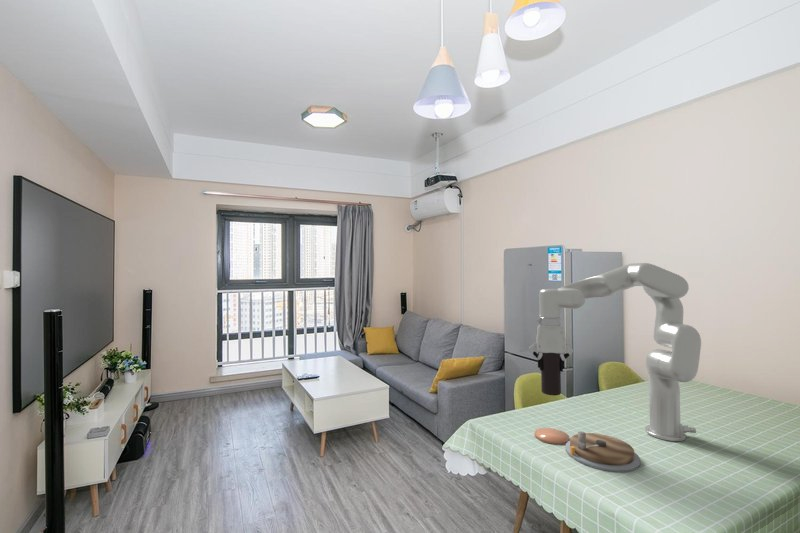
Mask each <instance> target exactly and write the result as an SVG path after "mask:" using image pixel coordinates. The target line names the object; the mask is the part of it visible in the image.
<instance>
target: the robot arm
mask: <svg viewBox="0 0 800 533" xmlns="http://www.w3.org/2000/svg"><path fill="white" fill-rule="evenodd" d="M633 287H642V288H643V290H644V292H645V293H646V294H647V295H648V296H649V297H650V298H651V300H653V302H654V304H655V320H654V328H653V339H654V341H655V342H656V344H658V345H660V346H662V347H666V348H669V349H672V351H670V350H666V349H661V348H660V349H659V348H658V349H653V350H651V351H649V352H648V354H647V355H646V357H645V358H646V359H645V368H646V372H647V375H648V376H647V377H648V385H649V386H648V387H649V390H648V391H649V392H648V393H649V424H648V425H646V426H645V427H644V430H645V432H646V434H648V435H649V436H651V437H654V438H656V439H659V440H664V441H668V442H669V441H671V442H682V441H685V440H686V439H687V435H686V434H687V433H690V434H696V433H697V429H696V427H692V426H691V427H690V426H689V425H688V424H687V425H685V424H684V425H683V424H682V423H681V392H680V391H681V390H680V388H681V387H680V385H679V382H680V383H689V382H691V381H693V380H694V379H695V378H696V377H697V374H698V370H699V364H700V358H701V357H700V356H701V349H702V337H701V335H700V333H699V331H698V330H697V329H696V328H694V326H692V325H688V324H685V323H684V307H683V303H682V301H681V298H684V297H685V296H686V295H687V294H688V291H689V289H690V288H689V283H688V281H687V280H686V279H685V278H684V277H683V276H681V275H679V274H677V273H675V272H672V271H669V270H667V269H665V268H663V267H661V266H658V265H656V264H652V263H647V262H640V263H639V262H638V263H635V262H634V263H628V264H625V265H623V266H620V267H617V268H614V269H611V270H609V271H607V272H603V273H601V274H598V275H595V276H591V277H587V278H584V279H580V280H578V281H574V282H571V283H568V284H566V285H564V286H561V287H559V288H557V289H556V288H543V289H540V291H539V293H538V294H539V296H538V297H539V298H538V299H539V300H538V301H539V305H538V306H539V307H538V308H539V310H538V311H539V316H538V318H535V323H538V325H537V327H536V328H537V330H536V337H535V342H533V343H532V344H531V345H530V346H529V347H528V350H529V352H530V353H532V355H533V356H534V357H535V358H536V359H537V368H538V369H539V371H540V372H541V371H542V370H543V369H542V358H541V357H542V354H543V353H557V354H560V371H561V372H564V369H565V361H566V359H568V358H569V356H570V355H572V354H573V352H574V349H573V348H572V347H570V345H568V344H567V343H566V331H565V328H564V327H565V326H564V325H562V309H570V310H577V309H579V308H581V307H583V306H584V304H585V303H586V300H587V299H590V298H591V299H592V298H593V299H594V298H603V297H604V298H605V297H609V296H612V295H615V294H617V293H621V292H623V291H625V290H628V289H630V288H633ZM534 349H536V350H537V351H535V350H534ZM537 352H538V353H537Z"/></svg>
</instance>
